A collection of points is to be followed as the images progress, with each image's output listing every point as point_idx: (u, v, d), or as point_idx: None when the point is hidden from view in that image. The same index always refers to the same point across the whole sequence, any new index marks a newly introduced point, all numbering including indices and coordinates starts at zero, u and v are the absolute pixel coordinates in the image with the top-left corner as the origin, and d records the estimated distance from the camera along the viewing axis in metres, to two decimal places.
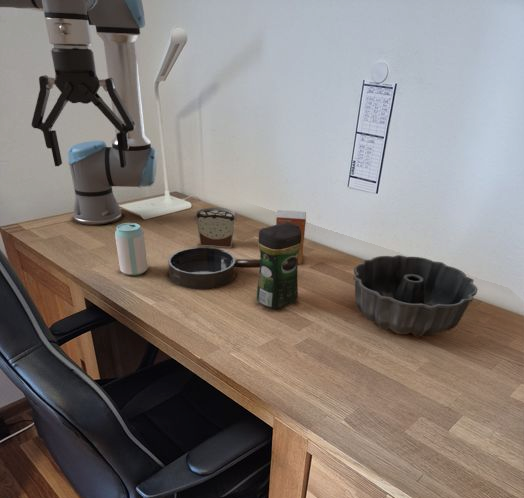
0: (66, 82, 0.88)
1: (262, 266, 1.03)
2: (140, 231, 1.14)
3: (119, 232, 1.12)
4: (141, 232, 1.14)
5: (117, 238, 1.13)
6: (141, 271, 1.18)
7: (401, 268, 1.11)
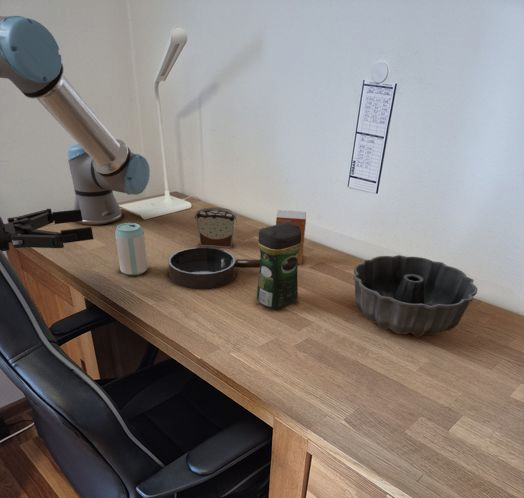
0: None
1: (262, 266, 1.03)
2: (140, 231, 1.14)
3: (119, 232, 1.12)
4: (141, 232, 1.14)
5: (117, 238, 1.13)
6: (141, 271, 1.18)
7: (401, 268, 1.11)
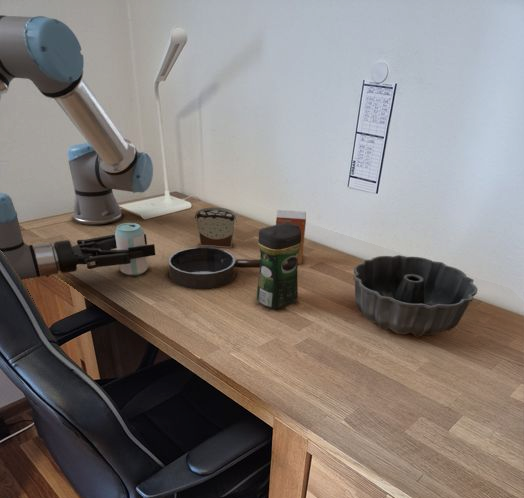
0: None
1: (262, 266, 1.03)
2: (140, 231, 1.14)
3: (119, 232, 1.12)
4: (141, 232, 1.14)
5: (117, 238, 1.13)
6: (141, 271, 1.18)
7: (401, 268, 1.11)
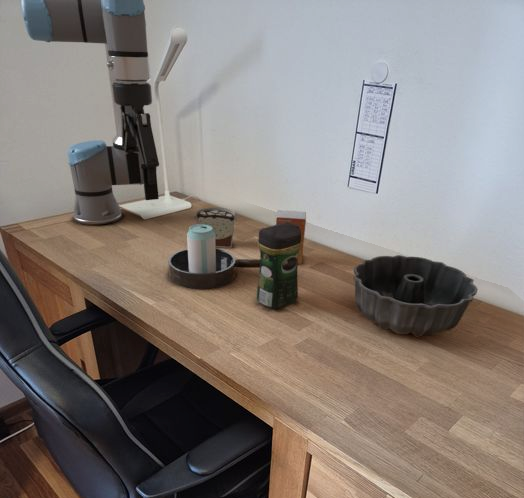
0: (127, 112, 0.95)
1: (262, 266, 1.03)
2: (212, 233, 1.13)
3: (192, 234, 1.12)
4: (213, 234, 1.14)
5: (190, 240, 1.12)
6: None
7: (401, 268, 1.11)
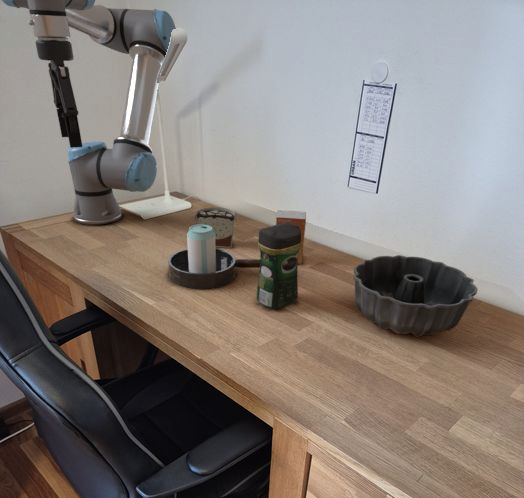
0: (52, 68, 1.06)
1: (262, 266, 1.03)
2: (212, 233, 1.13)
3: (192, 234, 1.12)
4: (213, 234, 1.14)
5: (190, 240, 1.12)
6: None
7: (401, 268, 1.11)
